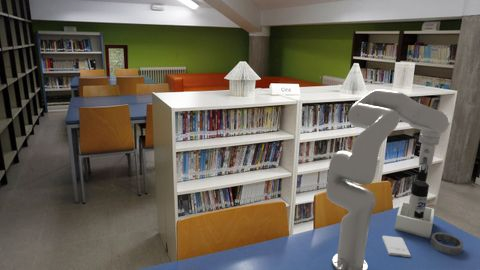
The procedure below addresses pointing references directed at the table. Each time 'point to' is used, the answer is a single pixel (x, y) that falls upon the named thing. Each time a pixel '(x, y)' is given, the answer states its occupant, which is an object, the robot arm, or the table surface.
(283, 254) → the table surface
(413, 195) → the spray can
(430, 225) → the bin
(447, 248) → the collar
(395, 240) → the external hard drive
